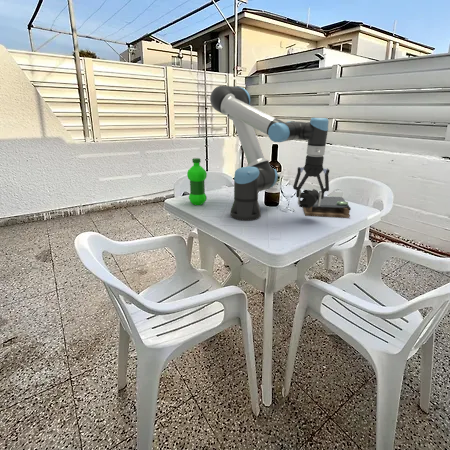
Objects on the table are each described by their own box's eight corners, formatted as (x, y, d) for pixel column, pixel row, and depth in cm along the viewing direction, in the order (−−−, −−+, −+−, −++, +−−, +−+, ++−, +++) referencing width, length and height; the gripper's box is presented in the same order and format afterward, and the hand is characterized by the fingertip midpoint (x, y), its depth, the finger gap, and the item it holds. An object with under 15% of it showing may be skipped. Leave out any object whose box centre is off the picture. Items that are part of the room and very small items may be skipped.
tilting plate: (306, 206, 147) (307, 201, 146) (303, 197, 162) (304, 192, 161) (348, 207, 144) (349, 202, 143) (341, 198, 159) (342, 194, 158)
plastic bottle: (198, 208, 158) (196, 161, 149) (184, 204, 165) (182, 158, 155) (210, 203, 165) (210, 158, 156) (197, 200, 172) (196, 156, 162)
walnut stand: (305, 215, 147) (306, 205, 145) (301, 204, 165) (302, 195, 163) (349, 218, 144) (351, 207, 142) (341, 206, 162) (342, 196, 160)
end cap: (314, 209, 132) (316, 195, 130) (298, 207, 135) (300, 192, 132) (318, 203, 140) (320, 189, 138) (303, 201, 143) (304, 187, 141)
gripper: (291, 155, 127) (285, 205, 136) (342, 157, 124) (333, 208, 133) (290, 153, 134) (285, 200, 142) (338, 155, 131) (330, 203, 140)
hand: (308, 204), depth 138 cm, fingers closed on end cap, 8 cm apart
